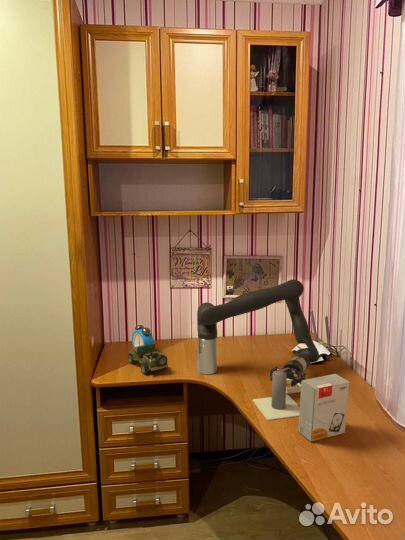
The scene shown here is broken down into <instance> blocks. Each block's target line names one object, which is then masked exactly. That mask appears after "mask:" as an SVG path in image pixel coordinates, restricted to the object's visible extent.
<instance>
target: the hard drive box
mask: <svg viewBox="0 0 405 540" xmlns="http://www.w3.org/2000/svg"><path fill="white" fill-rule="evenodd" d="M349 388H350V381H349V380H347V379H345V378H344V377H342V376H340V375H338V374H337V373H333V374H328V375H322V376H317V377H312V378H306V380H302V381H301V392H300V397H299V407H300V413H299V416H298V432H299V434H301V435H302V436H303V437H305V439H307V440H308V441H309V442H312V443H313V442H315V441H320V440H323V439H327V438H330V437H334V436H335V437H336V436H339V435H341V434H345V433H346V424H347V415H348V414H347V413H348V401H349V390H350V389H349Z"/></svg>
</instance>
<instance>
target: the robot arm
mask: <svg viewBox="0 0 405 540" xmlns="http://www.w3.org/2000/svg"><path fill="white" fill-rule="evenodd" d="M304 290H305V287H304V284H303V283H302V281H300V280H298V279H289V280H287V281H285V282H283V283H280V284H278V285H275V286H274V285H273V286H272V287H271V286H269V287H265V288H261V289H256V290H252V291H248V292H245V293H241V294H239V295H238V296H236V297H234V298H233V299H231V300H229V301H227V302H224V303H221V304H217V305H214V304H213V303H210V302H202V303H201V304H200V305H199V306H198V308H197V311H196V314H197V315H196V321H197V322H196V325H197V350H196V370H197V372H198V374H199V375H201V374H202V375H213V374H215V373H217V371H218V327H217V324H218V323H220V322H222V321H225V320H227V319H230V318H233V317H237V316H241V315H246V314H249V313H252V312H256V311H259V310H262V309H264V308H267V307H269V306H271V305H273V304H275V303H278V302H281V301H285V304H286V307H287V309H288V312H289V316H290V320H291V323H292V324H291V325H292V329H293V333H294V336H295V337H294V338H295V342H296V344H303V345H305V346H306V347H303V348H299V349H297V350H296V351H295V355H294V356H293V357H292V358H291V359H290V360H288V362H286V364H285V365H284V366H283V368H279V367H278V366H274V367H273V368H272V369H271V370H269V378H270V382H272V375H273V372H274V371H284V372H286V373H287V379H291V380H292V381H291V384H290V387H291V388H292V387H296V386H297V385H298V383H300V384H301V381H302V380H307V373H306V372H305V371H306V369H307V368H308V367H309V366H310V364H311V363H317V362H318V361H319V359H320V353H319V350H318V349H317V346H316V345H315V343H314V341H313V338H312V336H311V333H310V332H311V331H310V328H309V324H308V321H307V319H306V316H305V315H304V313H303V308H302V306H301V302H300V297H301V296H302V295H303V293H304Z"/></svg>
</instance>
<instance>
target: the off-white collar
mask: <svg viewBox="0 0 405 540" xmlns="http://www.w3.org/2000/svg"><path fill="white" fill-rule="evenodd" d="M291 381H292V380H291V379H288V378H287V380H286V395H288V394H294V393H295V394H297V393H301V384H300V383H298V384H297V385H298V386H293V387H292V386H291V387H288V386H287V385H289V384H290V385H291Z"/></svg>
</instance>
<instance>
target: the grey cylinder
mask: <svg viewBox="0 0 405 540" xmlns="http://www.w3.org/2000/svg"><path fill="white" fill-rule="evenodd" d="M287 379H288V378H287V373H286V372H284V371H274V372H273V375H272V381H271V382H272V383H271V384H272V385H271V397H272V408H274V409H277V410H282V409H285V405H286V395H287V393H286V386H287V384H286V380H287Z"/></svg>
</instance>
